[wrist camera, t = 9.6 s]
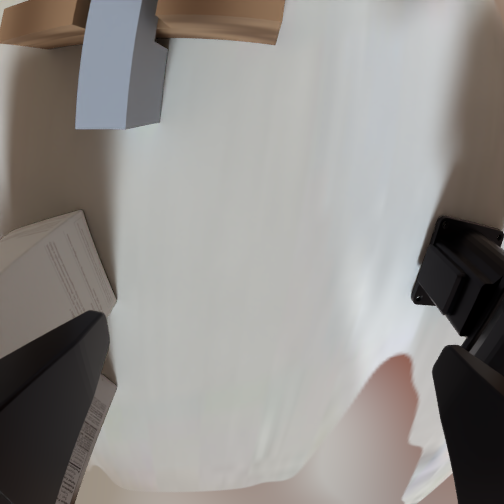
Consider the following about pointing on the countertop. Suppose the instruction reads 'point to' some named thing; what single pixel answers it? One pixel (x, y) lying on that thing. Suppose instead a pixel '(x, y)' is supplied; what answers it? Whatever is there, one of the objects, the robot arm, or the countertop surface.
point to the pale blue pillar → (120, 66)
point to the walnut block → (168, 12)
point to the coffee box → (86, 441)
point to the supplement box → (49, 279)
